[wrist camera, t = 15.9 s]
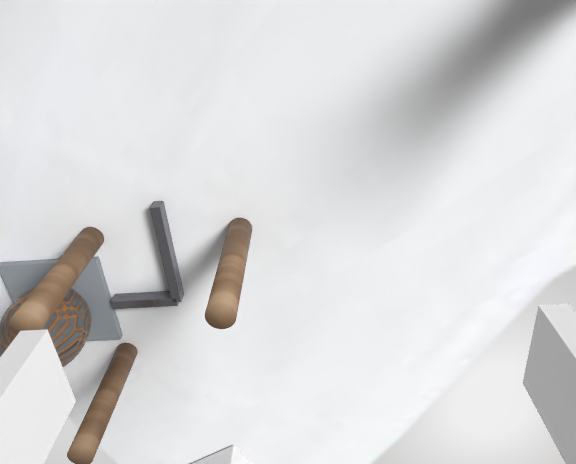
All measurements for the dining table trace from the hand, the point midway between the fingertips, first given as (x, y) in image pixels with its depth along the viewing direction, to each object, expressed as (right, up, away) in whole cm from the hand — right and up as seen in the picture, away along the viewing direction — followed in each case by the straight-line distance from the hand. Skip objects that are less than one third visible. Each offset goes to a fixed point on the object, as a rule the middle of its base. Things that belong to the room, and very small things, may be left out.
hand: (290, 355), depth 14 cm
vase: (-21, -3, +32) cm, 38 cm away
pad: (-21, -3, +33) cm, 39 cm away
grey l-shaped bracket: (-13, +1, +30) cm, 33 cm away
